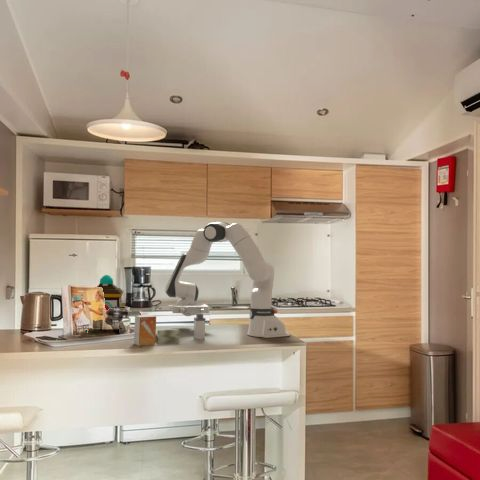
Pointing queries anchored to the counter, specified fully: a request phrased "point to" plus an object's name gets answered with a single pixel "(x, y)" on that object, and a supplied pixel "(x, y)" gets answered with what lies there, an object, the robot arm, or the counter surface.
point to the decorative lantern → (111, 292)
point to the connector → (199, 327)
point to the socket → (167, 336)
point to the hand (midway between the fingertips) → (193, 311)
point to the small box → (145, 330)
